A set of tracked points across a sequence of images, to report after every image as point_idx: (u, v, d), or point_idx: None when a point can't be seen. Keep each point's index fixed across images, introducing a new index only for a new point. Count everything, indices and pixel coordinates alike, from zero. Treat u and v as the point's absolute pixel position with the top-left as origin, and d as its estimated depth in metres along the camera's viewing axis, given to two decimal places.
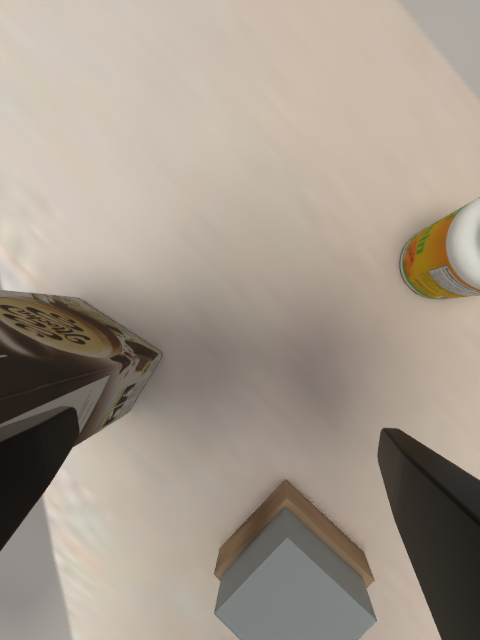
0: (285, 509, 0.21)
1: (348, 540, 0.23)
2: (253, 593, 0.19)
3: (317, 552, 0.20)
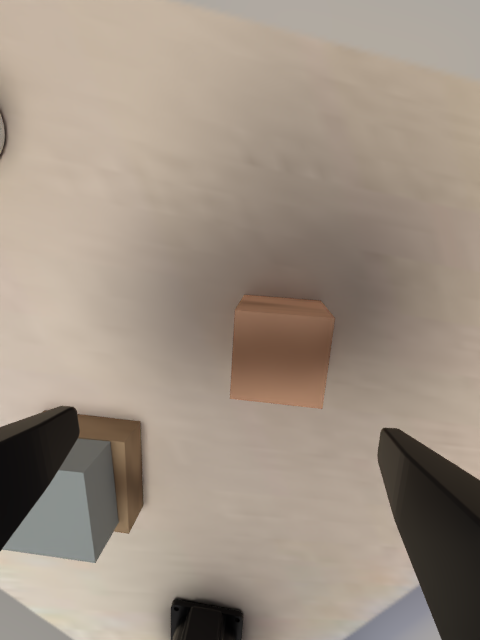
0: None
1: (117, 422, 0.23)
2: None
3: None
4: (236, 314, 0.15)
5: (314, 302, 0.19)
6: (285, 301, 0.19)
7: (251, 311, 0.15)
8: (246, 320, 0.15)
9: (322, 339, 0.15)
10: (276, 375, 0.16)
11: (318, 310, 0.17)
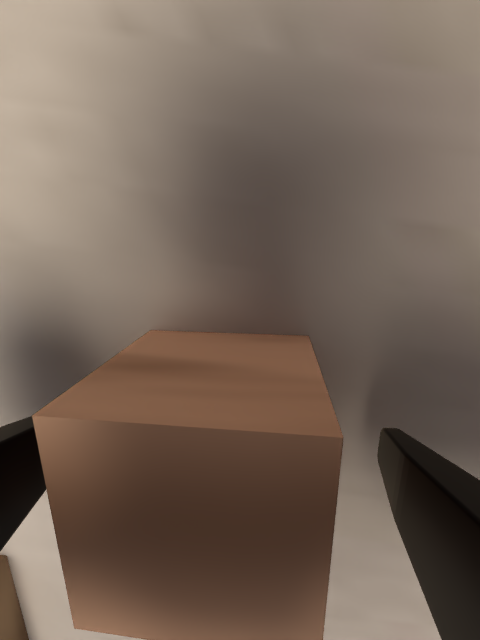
0: None
1: None
2: None
3: None
4: (38, 428, 0.05)
5: (293, 344, 0.08)
6: (226, 347, 0.08)
7: (82, 417, 0.05)
8: (70, 444, 0.05)
9: (307, 497, 0.05)
10: (181, 585, 0.06)
11: (296, 384, 0.06)
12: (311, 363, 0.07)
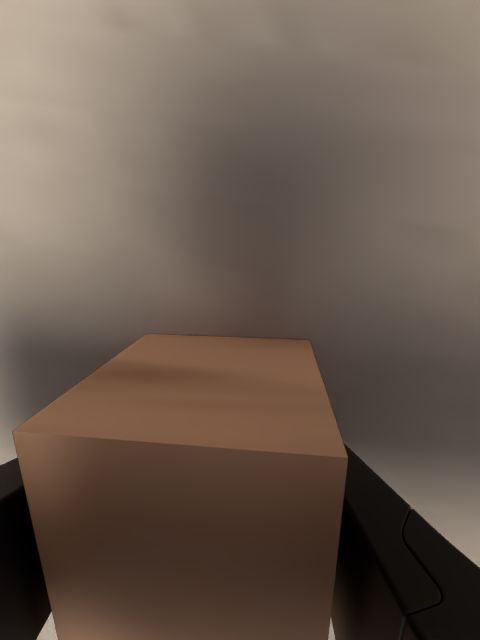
0: None
1: None
2: None
3: None
4: (19, 444, 0.05)
5: (293, 350, 0.08)
6: (223, 353, 0.08)
7: (65, 433, 0.05)
8: (54, 461, 0.05)
9: (308, 520, 0.04)
10: (174, 609, 0.05)
11: (296, 394, 0.06)
12: (312, 371, 0.07)
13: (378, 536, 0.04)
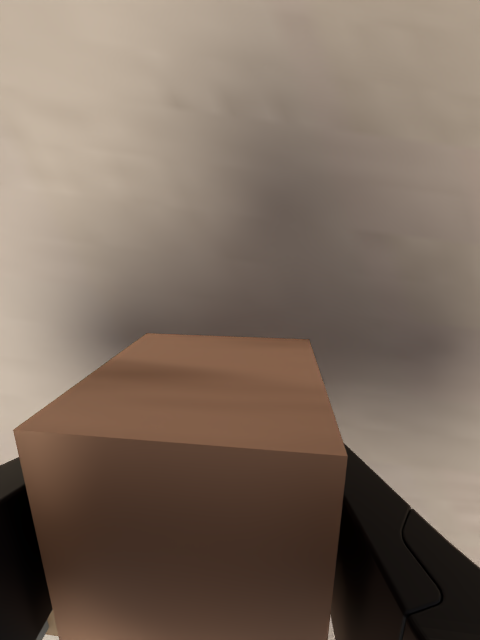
0: None
1: None
2: None
3: None
4: (20, 443, 0.05)
5: (293, 349, 0.08)
6: (223, 353, 0.08)
7: (66, 432, 0.05)
8: (55, 460, 0.05)
9: (308, 519, 0.04)
10: (175, 608, 0.05)
11: (296, 393, 0.06)
12: (312, 370, 0.07)
13: (378, 536, 0.04)
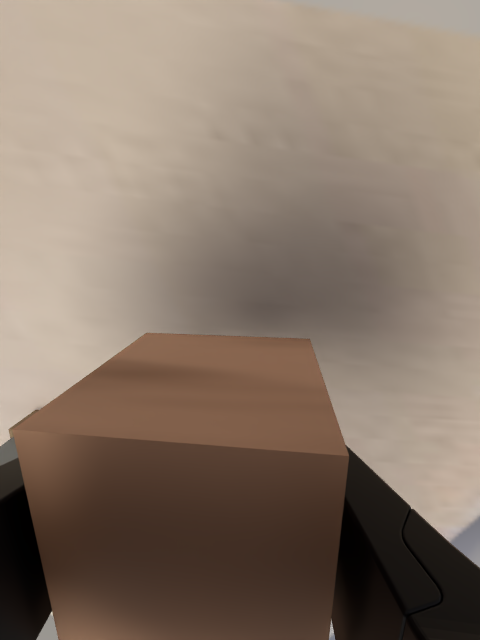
0: (10, 439, 0.22)
1: None
2: None
3: None
4: (19, 443, 0.05)
5: (294, 349, 0.08)
6: (223, 352, 0.08)
7: (66, 432, 0.05)
8: (54, 460, 0.05)
9: (309, 518, 0.04)
10: (174, 609, 0.05)
11: (297, 393, 0.06)
12: (313, 370, 0.07)
13: (378, 536, 0.04)
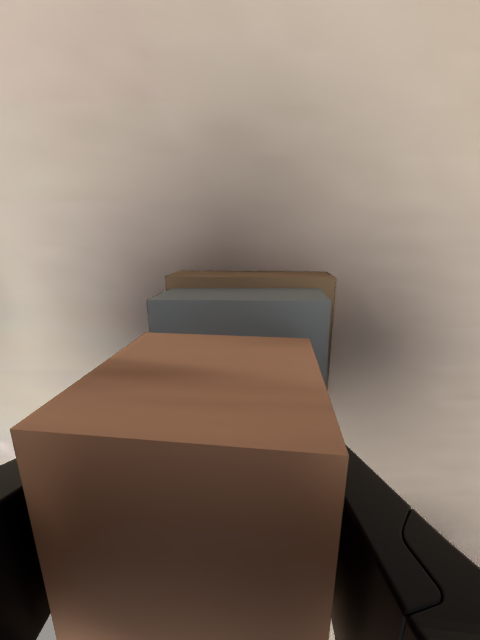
0: (171, 289, 0.14)
1: (295, 272, 0.16)
2: None
3: (218, 294, 0.13)
4: (17, 442, 0.05)
5: (294, 348, 0.08)
6: (223, 352, 0.08)
7: (64, 431, 0.05)
8: (52, 459, 0.05)
9: (308, 519, 0.04)
10: (173, 610, 0.05)
11: (297, 392, 0.06)
12: (313, 369, 0.07)
13: (378, 536, 0.04)
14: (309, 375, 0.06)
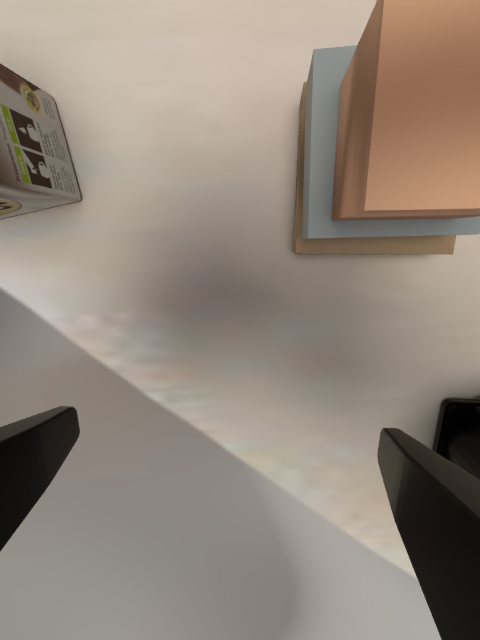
0: (306, 86, 0.14)
1: None
2: (331, 167, 0.13)
3: None
4: None
5: None
6: None
7: None
8: (411, 4, 0.07)
9: None
10: (469, 140, 0.08)
11: None
12: None
13: None
14: None
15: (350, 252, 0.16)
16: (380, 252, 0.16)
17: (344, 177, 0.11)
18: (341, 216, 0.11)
